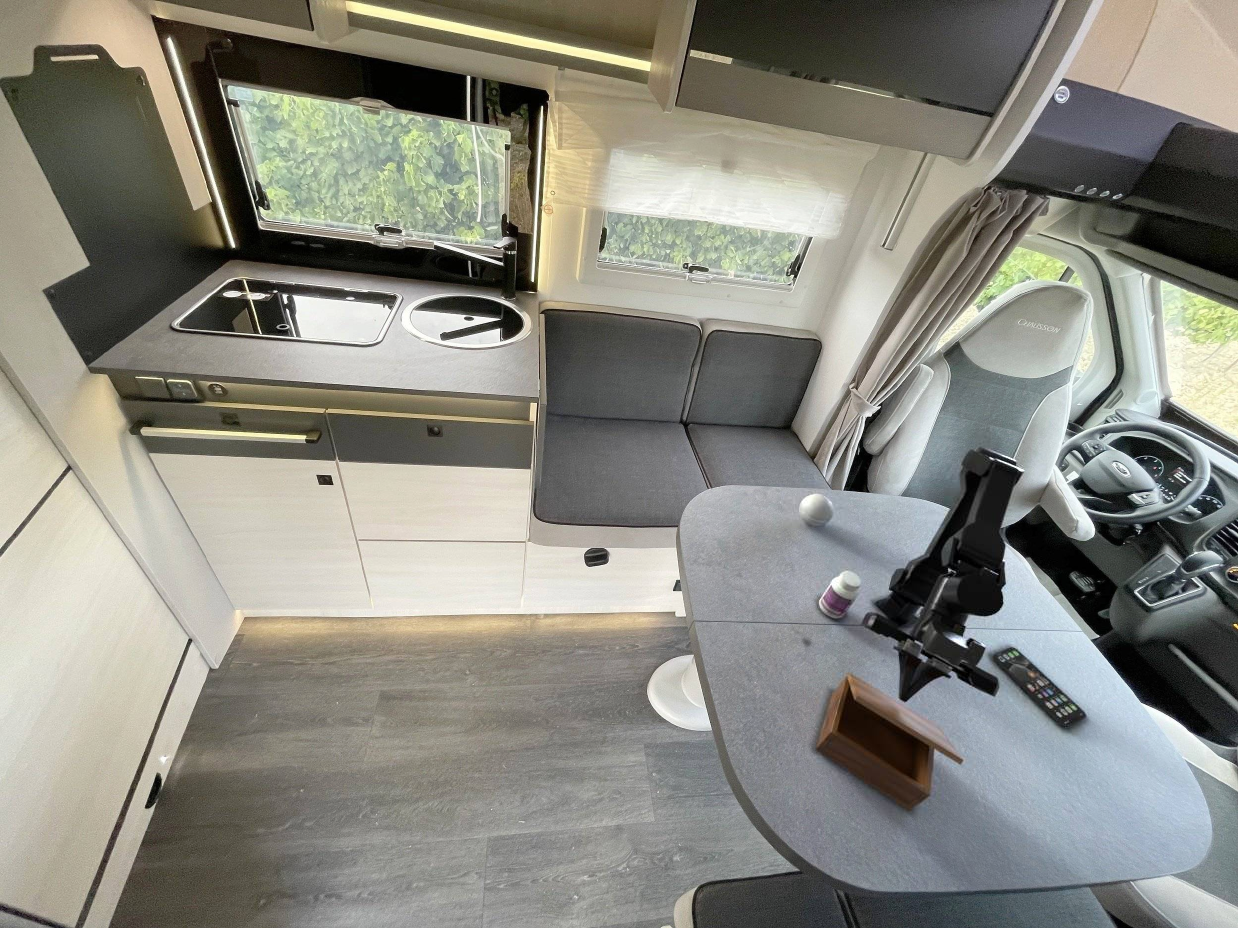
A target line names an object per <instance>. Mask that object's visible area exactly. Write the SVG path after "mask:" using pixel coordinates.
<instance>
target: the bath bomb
mask: <svg viewBox="0 0 1238 928" xmlns="http://www.w3.org/2000/svg"><path fill="white" fill-rule="evenodd" d="M798 512H799V516H800V518H801V519H802V521H803V522H804V523H805V524H807V525H809V526H811V527H823V526H825V525H827V524H828V523H830V521H831V520H832V519H833V517H834V514H835V513H834V512H835V508H834V504H833V503H832V501H831V500H830V499H829V498H828V497H827V496H825V495H823V494H821V493H811V494H809V495H807V496H805V497H804V498H803V499H802V500H801V502H800V503H799V507H798Z"/></svg>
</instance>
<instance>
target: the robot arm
mask: <svg viewBox="0 0 1238 928" xmlns="http://www.w3.org/2000/svg"><path fill="white" fill-rule="evenodd" d="M1017 464H1018V463H1017V460H1016V459H1013V458H1011V457H1010V456H1006V455H1003V454H1001V453H999V452H996V451H993V450H991V449H989V448H986V447H983V446H980V447H978V448H977V449H976V450H975V449H972V448H970V449H969V450H968V452H967V453H966V454H965V455H964V457H963V459H962V461H961V466H962V468H961V470H960V471H959V473H958V478H959V484H960V491H959V493H958V494H957V496H956V498H955V500H954V501H953V503H952V504H951V506H950V508H949V510H948V511H947V513H946V515H945V517H944V518H943V520H942V522H941V524H940V525H939V527H938V529H937V530H936V533H934V536H933V537H932V539H931V541H930V543H929V544H928V546H927V548H926V549H925V551H924V553H923V554H921V555H919V556H917V557H915V558H913V559H911V560H909V561H908V563H907V564H906V566H905V567H900V568H896V569H895V570H894V572H893V573H892V575H891V576H890V577H891V578H890V581H889V586H888V591H890V593H889V595H888V596H887V597H885V598H882V599H879V600H876V601H875V602H874V604H875V606H876V607H877V608H878V609H879V610H880V611H881V613H882V614H884V615H882V614H880V613H878V612H874V611H870V612H866V613H865V615H864V616H863V619H862V620H861V622H860V625H861V626H862V627H863V628H866V629H868V630H870V631H871V632H873V633H875V634H877V635H878V636H880V635H881V636H882V637H885V638H891V639H893V640H894V641H896V642H897V644H896V645H897V646H895V645H893V647H892V650H894V651H896V652H897V653H898V655H897V656H898V666H899V681H898V700H900V701H902V702H903V703H907V702H908V701H909V700H910V699H911V698H913V697H914V696H915V695H916V694H917V693H918V692H920V691H921V690H922V689H923V688H924V687H926V686H927V685H928V684H930V683H932V682H933V681H935V680H937V679H939V678H943V677H944V678H946V679H949V680H950V679H951V678H952V675H951V674H950V673H951V672H953V673H954V674H955V675H956V678H957V679H958V680H960V681H962V682H963V683H965V684H967V685H969V686H971V687H972V688H974V689H976V690H977V691H980V692H982V693H984V694H987V695H989V696H991V697H993V698H995V697H997V693H998V692H999V689H1000V687H1001V686H1000V681H999V677H997V676H995V675H993V673H990V672H988V671H986V670H984V669H982V668H981V667H979V666H978V665H979V663H981V660H982V659H983V657H984V654H985V652H986V650H987V646H986V645H985V644H984V643H982V642H980V641H978V640H977V639H975V638H973V637H969V638H967V639H966V638H964V634H965V632H966V628H967V626H966V623H967V620H968V618H969V617H970V616H972V617H983V618H985V617H991V616H994V615H996V614H997V613H998V612H1000V611H1001V609H1002V608H1003V606H1004V605H1005V604H1004V594H1003V588H1004V587H1005V586H1006V585H1007V580H1006V568H1005V567H1006V561H1005V560H1004V558H1005V554H1006V548H1007V545H1006V542H1005V540H1004V538H1003V537H1002V534H1001V529H1002V526H1003V522H1004V520H1005V518H1006V517H1005V516H1006V514H1007V510H1008V507H1009V504H1010V501H1011V497H1012V495H1013V491H1014V488H1015V487H1016V485H1017V484H1018V483H1019V481H1020V479H1021V477H1022V476H1023V474H1024V473H1025V469H1022V468H1021V467H1018V465H1017ZM919 610H920V611H919ZM918 611H919V616H917V615H915V614H917V612H918ZM913 623H915V624H914V626H913V628H912V630H909V633H906V632H905V631H902V630H901V629H899V628H902V627H905V626H908V625H910V624H913ZM919 643H920V644H919ZM920 655H922V656H923V657H925V658H926V660H925V661H923V659H921V658H920Z"/></svg>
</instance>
